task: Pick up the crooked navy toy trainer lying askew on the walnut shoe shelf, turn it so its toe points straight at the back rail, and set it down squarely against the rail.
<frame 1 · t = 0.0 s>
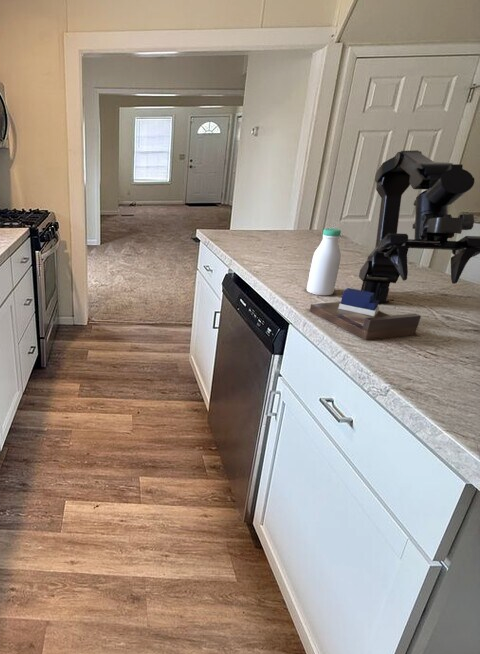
hand: (429, 281, 88), 15 cm above the countertop, tool tilted 35°, fingers open, 9 cm apart
trainer: (358, 310, 108), point 2 cm above the countertop, touching shoe shelf
milk bottle: (319, 292, 129), on the countertop
shoe shelf: (358, 321, 106), on the countertop
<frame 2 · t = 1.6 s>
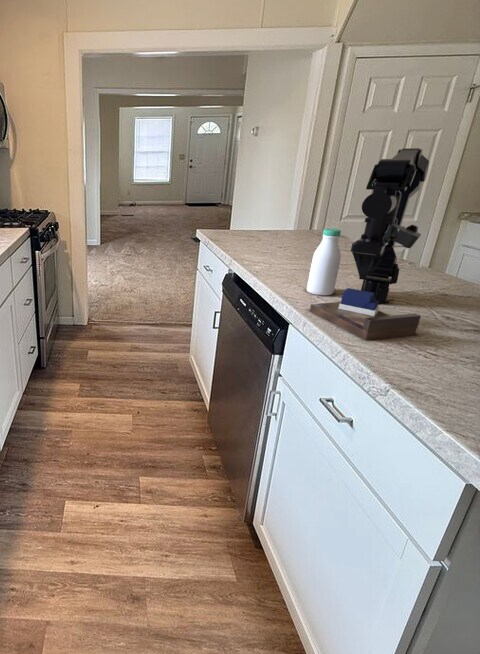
hand: (367, 275, 104), 12 cm above the countertop, tool pointing down, fingers open, 9 cm apart
nothing on the countertop moved.
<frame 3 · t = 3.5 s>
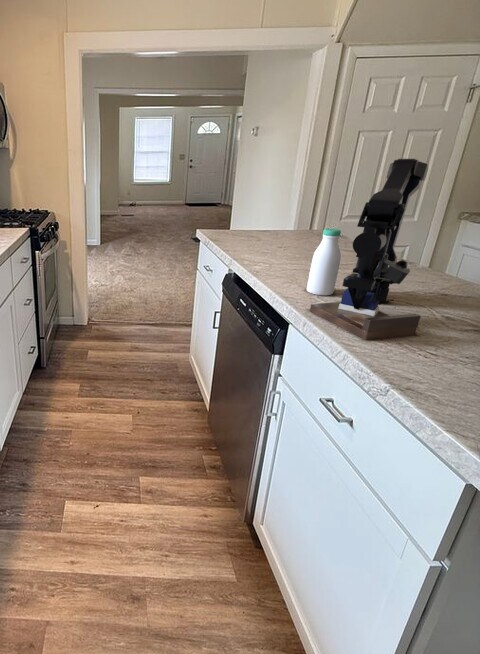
hand: (358, 306, 108), 3 cm above the countertop, tool pointing down, fingers closed on trainer, 4 cm apart
trainer: (358, 310, 108), point 2 cm above the countertop, touching gripper, shoe shelf
everything else where it was.
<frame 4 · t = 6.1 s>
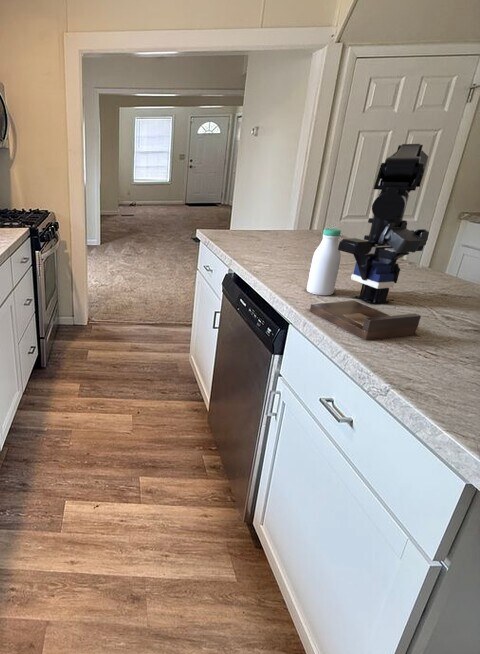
hand: (372, 279, 99), 12 cm above the countertop, tool pointing down, fingers closed on trainer, 4 cm apart
trainer: (371, 283, 100), point 11 cm above the countertop, touching gripper
everything else where it was.
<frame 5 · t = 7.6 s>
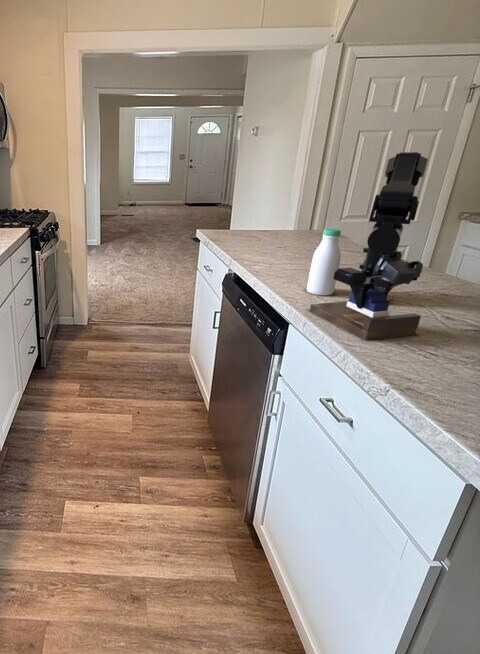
hand: (367, 307, 100), 5 cm above the countertop, tool pointing down, fingers closed on trainer, 4 cm apart
trainer: (366, 311, 101), point 4 cm above the countertop, touching gripper
everything else where it was.
when the fingers open (3 cm above the countertop, at t = 8.6 s): trainer stays where it is, resting on shoe shelf.
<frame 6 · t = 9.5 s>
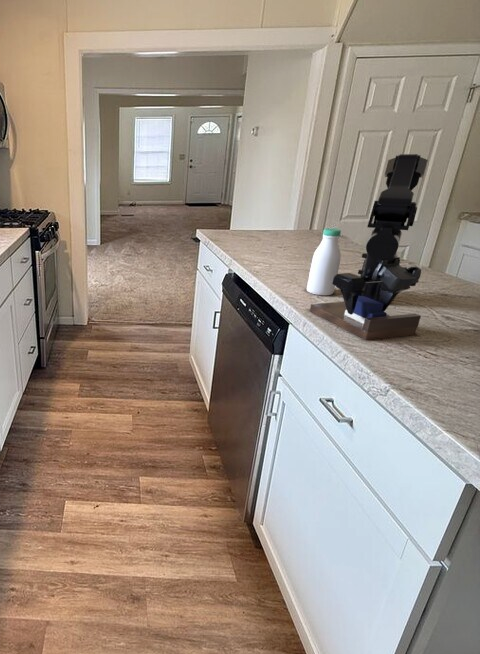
hand: (366, 312, 101), 4 cm above the countertop, tool pointing down, fingers open, 9 cm apart
trainer: (364, 319, 102), point 2 cm above the countertop, touching shoe shelf
everything else where it was.
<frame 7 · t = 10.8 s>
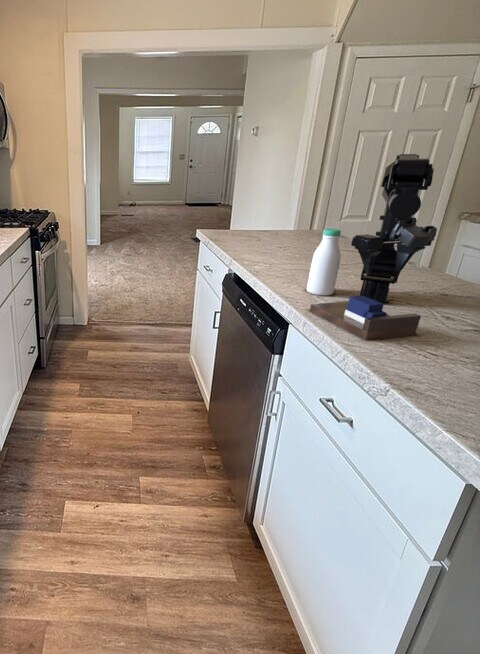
hand: (383, 272, 106), 12 cm above the countertop, tool pointing down, fingers open, 9 cm apart
nothing on the countertop moved.
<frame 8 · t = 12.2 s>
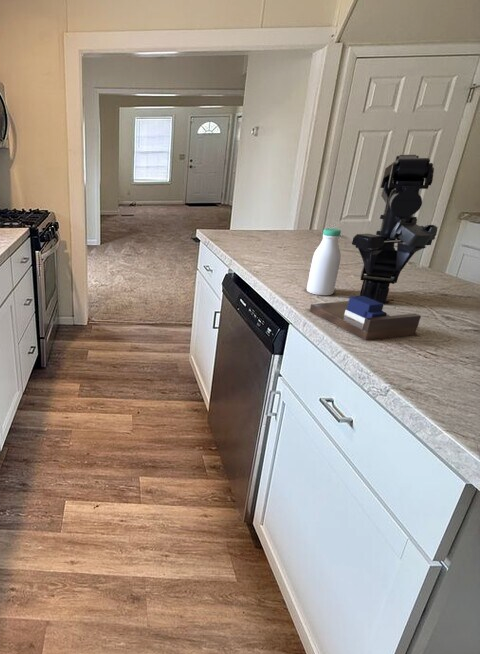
hand: (383, 272, 106), 12 cm above the countertop, tool pointing down, fingers open, 9 cm apart
nothing on the countertop moved.
at the end: trainer 0.3 cm from the target spot on the shoe shelf, point 2.1 cm above the shoe shelf's base; trainer tilted 0°; milk bottle moved 0.2 cm from its start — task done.
